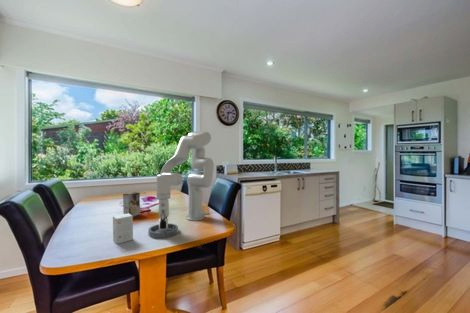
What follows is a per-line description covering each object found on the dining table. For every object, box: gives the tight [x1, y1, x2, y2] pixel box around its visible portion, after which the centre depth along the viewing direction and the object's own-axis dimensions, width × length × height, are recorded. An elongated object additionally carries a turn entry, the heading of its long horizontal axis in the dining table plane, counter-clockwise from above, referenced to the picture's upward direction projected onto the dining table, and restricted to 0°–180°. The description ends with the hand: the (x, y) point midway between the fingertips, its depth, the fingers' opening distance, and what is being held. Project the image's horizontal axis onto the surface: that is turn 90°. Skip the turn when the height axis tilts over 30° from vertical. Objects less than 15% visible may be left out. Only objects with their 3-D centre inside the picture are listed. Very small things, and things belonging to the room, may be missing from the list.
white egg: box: [158, 217, 169, 233], centre depth 130 cm, size 5×5×7 cm
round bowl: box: [147, 222, 179, 240], centre depth 130 cm, size 16×16×3 cm
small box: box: [112, 213, 134, 245], centre depth 119 cm, size 8×6×13 cm
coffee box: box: [122, 191, 141, 217], centre depth 162 cm, size 9×6×16 cm
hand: (163, 225), depth 129 cm, fingers open, 9 cm apart
